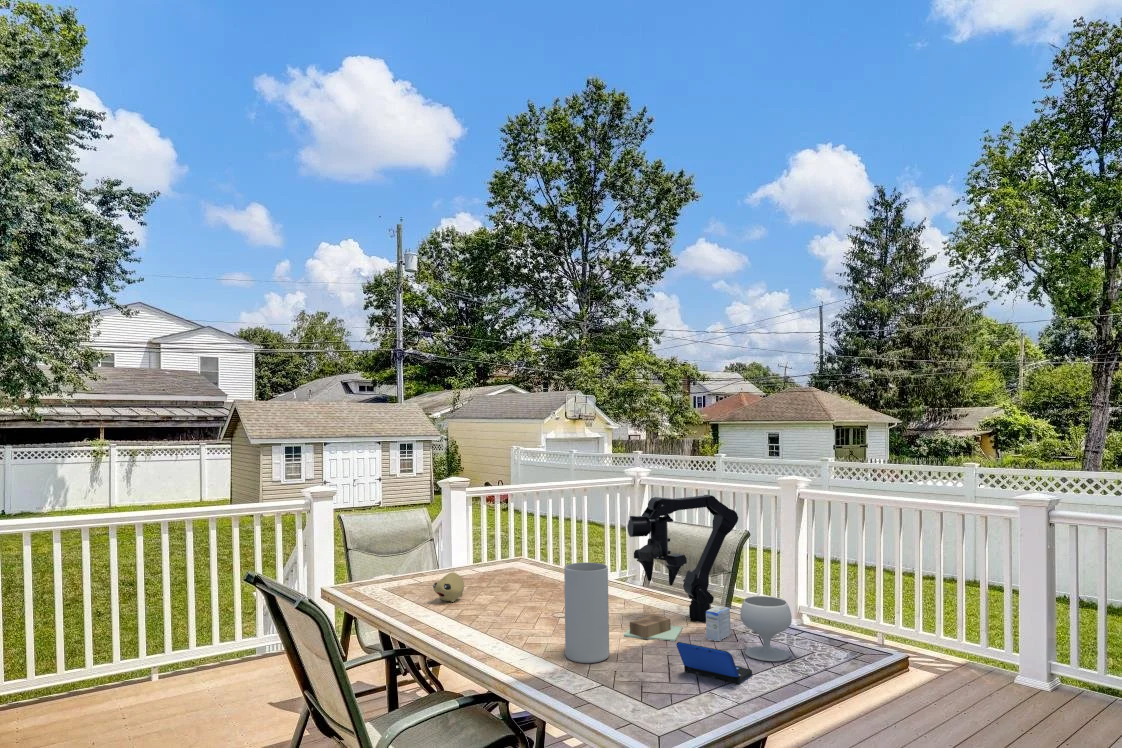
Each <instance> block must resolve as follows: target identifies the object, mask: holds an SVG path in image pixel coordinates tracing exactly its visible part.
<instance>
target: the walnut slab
mask: <svg viewBox="0 0 1122 748" xmlns="http://www.w3.org/2000/svg"><path fill="white" fill-rule="evenodd" d="M671 626H672V624H671V618H669V617H665V616H662V615H657V614H653V615H650V616H649V615H648V616H646V617H642V618H639V619H635V620H632V621H629V628H630V634H633V635H637V636H640V637H644V638H648V637H651V636H654V635H657V634H660V633H663V632H666V631H669V630H671Z"/></svg>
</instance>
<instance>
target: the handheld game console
mask: <svg viewBox="0 0 1122 748" xmlns="http://www.w3.org/2000/svg"><path fill="white" fill-rule="evenodd" d="M675 644H676V645H675V646H676V648H677V650H678V653H679V656H680V658H681V661H682V664H683V666H684V667H683V668H684V670H683V671H684V672H685V673H687V674H693V675H697V676H700V677H705V678H706V677H707V678H712V679H714V680H718V681H722V682H726V683H731V684H735V685H740V684H741V683H742V682H743V681H745V680H747V679H749V677H751V676H752V675H753V670H752V669H750V668H746V667H741V666H739V665H736V663H735V661H734V657H733V655H732V654H731V653H730V652H729V651H726V650H722V649H718V648H712V647H709V646H708V647H707V646H702V645H698V644H692V643H686V642H682V641H677V642H676V643H675Z"/></svg>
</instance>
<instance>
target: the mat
mask: <svg viewBox="0 0 1122 748" xmlns="http://www.w3.org/2000/svg"><path fill="white" fill-rule="evenodd" d="M682 629H683V630H684V626H678V625H677V626H676V625H671V630H669V631H666V632H663V633H660V634H657V635H654V636H651V637H648V638H644V637H640V636H637V635H633V634H630V627H629V628H628V629H627V630H625V631H626V632H625V633H623V638H624V637H625V638H634V639H646V640H653V639H661V640H660V641H663V640H670V641H669V642H673V641H675V640H677V639H678V638H679V636H680V635H681V633H682V632H683V630H682ZM677 637H678V638H677ZM675 642H676V641H675Z"/></svg>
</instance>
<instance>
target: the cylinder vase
mask: <svg viewBox="0 0 1122 748" xmlns="http://www.w3.org/2000/svg"><path fill="white" fill-rule="evenodd" d="M563 571H564V572H563V573H564V579H563V580H564V641H565V642H564V651H565V653H564V654H565V657H566V658H567V659H568V660H570V661H572V662H574V663H580V664H594V663H595V664H596V663H600V662H604V661H605V660H606V659H608V658H609V657H610V624H609V623H610V621H609V619H610V618H609V615H610V614H609V613H610V611H609V607H610V606H609V605H610V604H609V566H608V565H607V564H605V563H599V562H590V561H589V562H574V563H569V564H568V563H567V564H566V565H564V569H563Z"/></svg>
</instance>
